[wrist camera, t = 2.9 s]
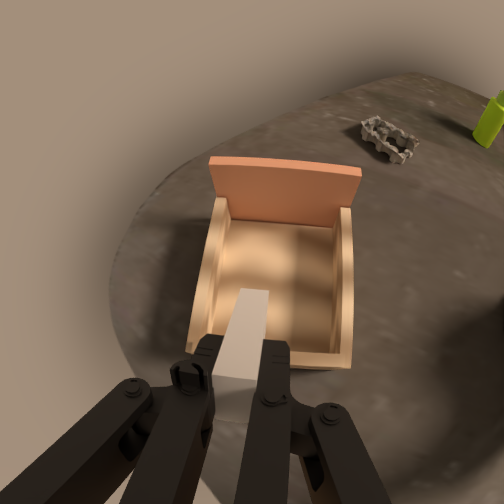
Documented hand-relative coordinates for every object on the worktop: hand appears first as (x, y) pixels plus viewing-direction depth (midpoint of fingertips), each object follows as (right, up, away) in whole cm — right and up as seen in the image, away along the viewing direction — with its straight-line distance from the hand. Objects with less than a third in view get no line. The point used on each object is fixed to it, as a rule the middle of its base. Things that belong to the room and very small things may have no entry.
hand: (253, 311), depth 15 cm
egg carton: (+25, +24, +31) cm, 46 cm away
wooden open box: (+3, -2, +19) cm, 20 cm away
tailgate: (+4, +7, +23) cm, 24 cm away
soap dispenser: (+59, +32, +32) cm, 74 cm away
